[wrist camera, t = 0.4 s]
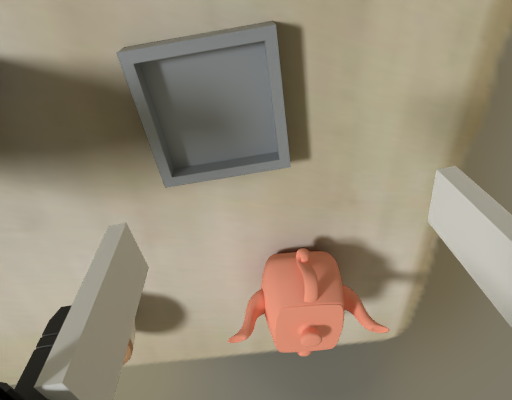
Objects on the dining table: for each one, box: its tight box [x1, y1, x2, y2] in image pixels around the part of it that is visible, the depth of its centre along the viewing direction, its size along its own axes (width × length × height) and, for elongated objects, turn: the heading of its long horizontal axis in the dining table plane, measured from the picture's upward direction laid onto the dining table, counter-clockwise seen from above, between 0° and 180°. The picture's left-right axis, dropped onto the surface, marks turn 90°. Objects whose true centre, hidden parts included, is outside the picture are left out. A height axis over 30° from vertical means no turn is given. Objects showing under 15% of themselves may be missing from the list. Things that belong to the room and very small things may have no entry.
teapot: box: [228, 248, 389, 356], centre depth 49 cm, size 15×17×13 cm
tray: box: [117, 21, 291, 188], centre depth 37 cm, size 15×15×3 cm
